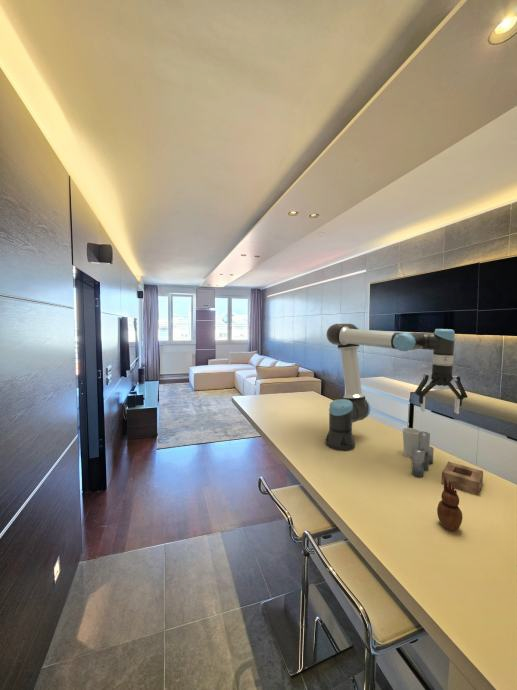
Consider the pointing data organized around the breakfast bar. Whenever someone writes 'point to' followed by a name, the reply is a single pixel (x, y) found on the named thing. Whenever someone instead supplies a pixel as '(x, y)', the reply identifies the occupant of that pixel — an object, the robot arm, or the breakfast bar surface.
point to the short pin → (431, 455)
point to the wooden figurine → (449, 508)
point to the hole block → (463, 477)
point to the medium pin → (418, 462)
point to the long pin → (424, 447)
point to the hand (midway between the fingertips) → (439, 411)
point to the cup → (410, 440)
